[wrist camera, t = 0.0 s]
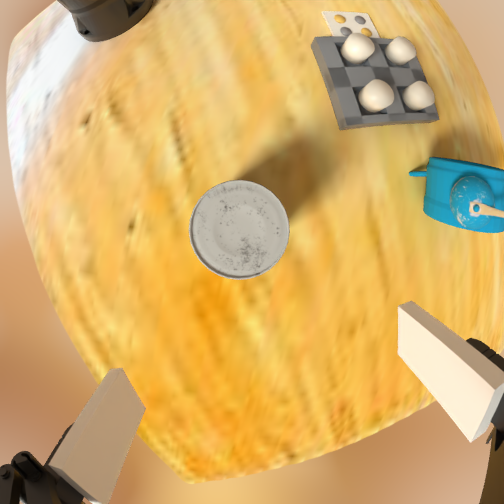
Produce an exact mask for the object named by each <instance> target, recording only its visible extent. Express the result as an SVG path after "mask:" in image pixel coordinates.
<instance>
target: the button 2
mask: <svg viewBox="0 0 504 504" xmlns="http://www.w3.org/2000/svg"><path fill="white" fill-rule="evenodd" d="M358 98H359V102H360V104H361V105H362V106H363V108H365V109H366V110H367V111H369V112H379V111H380V110H382V109H384V108H386V107H387V106H389V105H391V104H392V103H393V101H394V93H393V90H392V88H391V87H390V86H389V85H388V84H387V83H386V82H384V81H382V80H379V79H375V80H372V81H371V82H370V83H368V84H367V85H366V86H365V87H364V88H362V89H361V90H360V92H359V95H358Z"/></svg>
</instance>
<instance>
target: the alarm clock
mask: <svg viewBox="0 0 504 504" xmlns="http://www.w3.org/2000/svg"><path fill="white" fill-rule="evenodd" d="M409 175H410V176H415V177H418V176H427V181H426V194H425V196H424V208H423V211H424V213H425V214H427V215H428V216H430V217H431V218H433V219H435V220H438V221H440V222H443V223H446V224H448V225H452V226H455V227H459V228H463V229H467V230H472V231H477V232H485V233H499V232H503V231H504V170H503V169H499V168H496V167H492V166H487V165H483V164H478V163H473V162H467V161H461V160H455V159H447V158H438V157H430V158H429V164H428V165H427V171H414V172H409Z"/></svg>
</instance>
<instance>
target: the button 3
mask: <svg viewBox="0 0 504 504" xmlns="http://www.w3.org/2000/svg"><path fill="white" fill-rule="evenodd" d="M385 54H386V56H387V58H388V59H389V60H390V61H391V62H392V63H394V64H396V65H399V66H402V65H404V64H405V63H407V62H408V61H410V60H411V59H412V58H414V57H415V56H416V49H415V47H414V45H413V44H412V43H411V42H410V41H409V40H408V39H406V38H404V37H396V38H395V39H394V40H393V41H392V42H391V43H390V44H389V45H387V46H386V48H385Z"/></svg>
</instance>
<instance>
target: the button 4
mask: <svg viewBox="0 0 504 504" xmlns="http://www.w3.org/2000/svg"><path fill="white" fill-rule="evenodd" d="M402 97H403V100H404V102H405V104H406V105H407V106H408V107H409V108H410V109H412V110H414V111H418V110H421V109H423V108H425V107H428V106H430V105H432V104H433V103H434V100H435V97H434V93H433V91H432V89H431V88H430V86H429V85H428V84H426V83H425V82H423V81H417V82H415V83H413V84H411V85H410V86H408V87H406V88H405V89H404V90H403V92H402Z"/></svg>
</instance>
